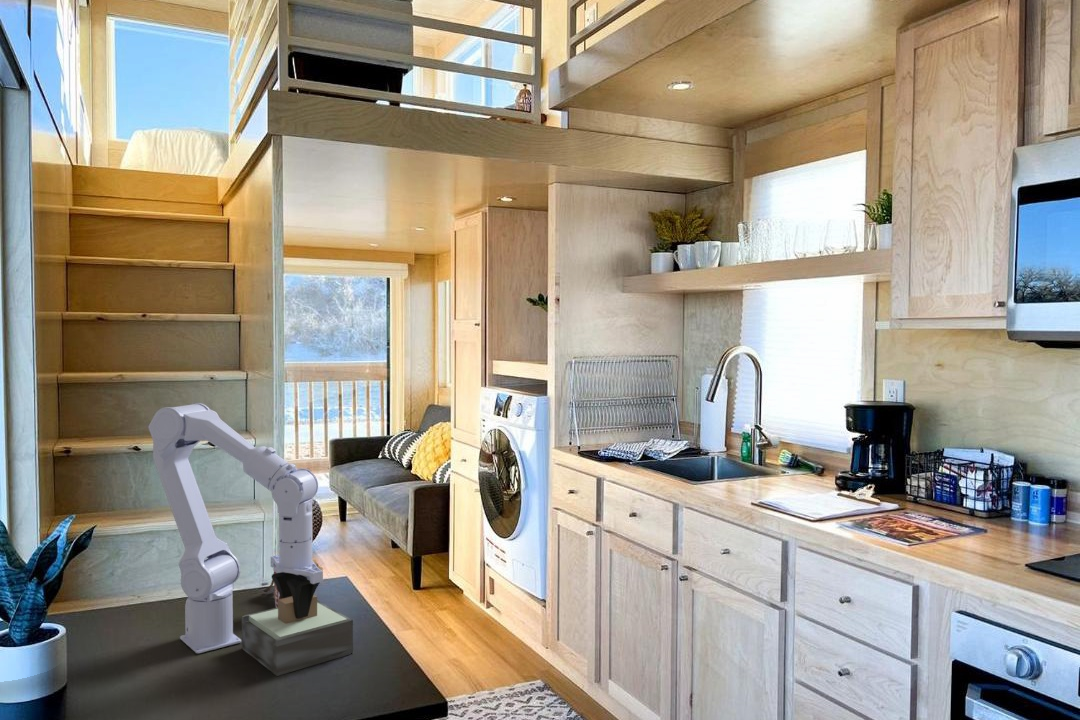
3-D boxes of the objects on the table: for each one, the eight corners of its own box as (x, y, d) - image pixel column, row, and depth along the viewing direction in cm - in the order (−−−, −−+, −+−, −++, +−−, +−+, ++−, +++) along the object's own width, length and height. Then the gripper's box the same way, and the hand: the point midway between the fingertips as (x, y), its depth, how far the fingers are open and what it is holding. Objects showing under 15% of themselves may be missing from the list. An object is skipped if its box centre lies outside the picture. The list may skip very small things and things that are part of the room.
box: (241, 648, 143) (241, 615, 142) (314, 629, 152) (314, 598, 152) (276, 676, 131) (276, 640, 131) (352, 653, 141) (352, 620, 141)
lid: (248, 621, 142) (248, 596, 142) (313, 605, 151) (313, 581, 151) (280, 642, 133) (280, 616, 132) (347, 624, 141) (347, 599, 141)
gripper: (254, 535, 143) (255, 610, 143) (296, 551, 133) (297, 631, 134) (290, 528, 148) (290, 600, 149) (333, 543, 138) (333, 619, 139)
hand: (296, 614), depth 141 cm, fingers closed on lid, 3 cm apart
